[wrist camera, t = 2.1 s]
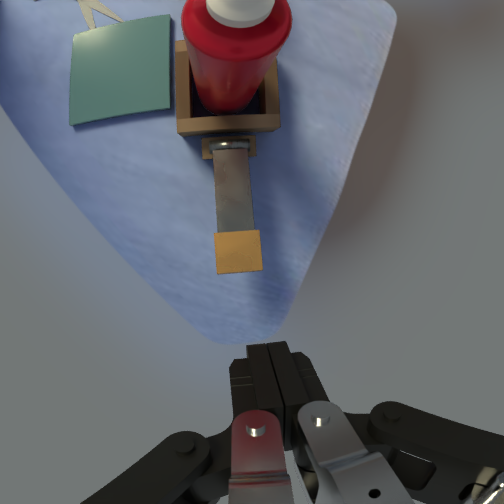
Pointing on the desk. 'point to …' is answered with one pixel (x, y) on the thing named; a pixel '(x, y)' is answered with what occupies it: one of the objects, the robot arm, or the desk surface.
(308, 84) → the desk surface
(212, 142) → the lever
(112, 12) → the scissors
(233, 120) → the holder
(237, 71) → the bottle
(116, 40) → the coaster
